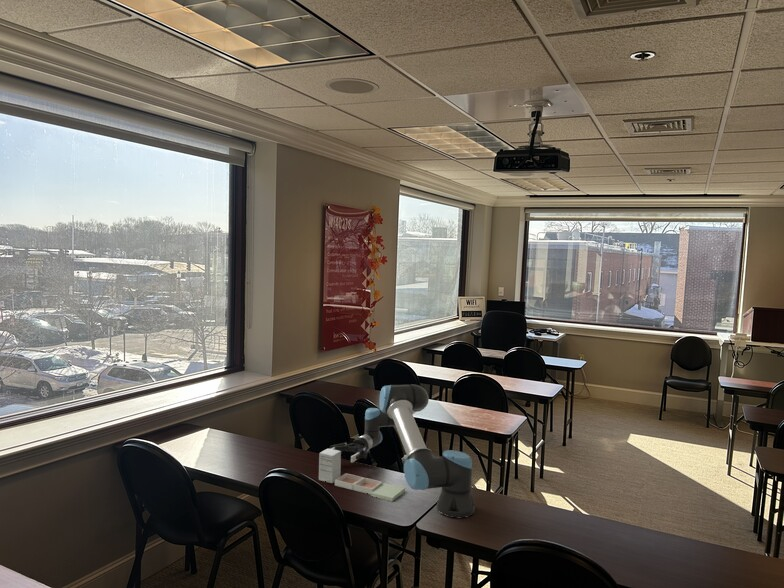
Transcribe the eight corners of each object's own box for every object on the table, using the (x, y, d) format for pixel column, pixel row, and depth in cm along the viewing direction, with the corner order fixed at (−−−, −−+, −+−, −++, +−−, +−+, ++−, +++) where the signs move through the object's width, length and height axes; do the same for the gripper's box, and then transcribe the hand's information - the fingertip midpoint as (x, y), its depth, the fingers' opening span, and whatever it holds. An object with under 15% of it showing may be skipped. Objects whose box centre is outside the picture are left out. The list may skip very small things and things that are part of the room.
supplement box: (326, 474, 255) (327, 447, 254) (340, 478, 251) (341, 450, 251) (318, 480, 248) (318, 452, 247) (332, 483, 245) (332, 455, 244)
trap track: (404, 491, 239) (404, 485, 239) (392, 501, 228) (392, 495, 228) (347, 477, 252) (347, 472, 252) (332, 486, 241) (333, 481, 241)
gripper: (383, 456, 270) (361, 470, 251) (340, 447, 281) (316, 459, 262) (384, 441, 269) (362, 453, 251) (341, 432, 281) (316, 444, 262)
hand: (338, 456), depth 256 cm, fingers open, 13 cm apart
